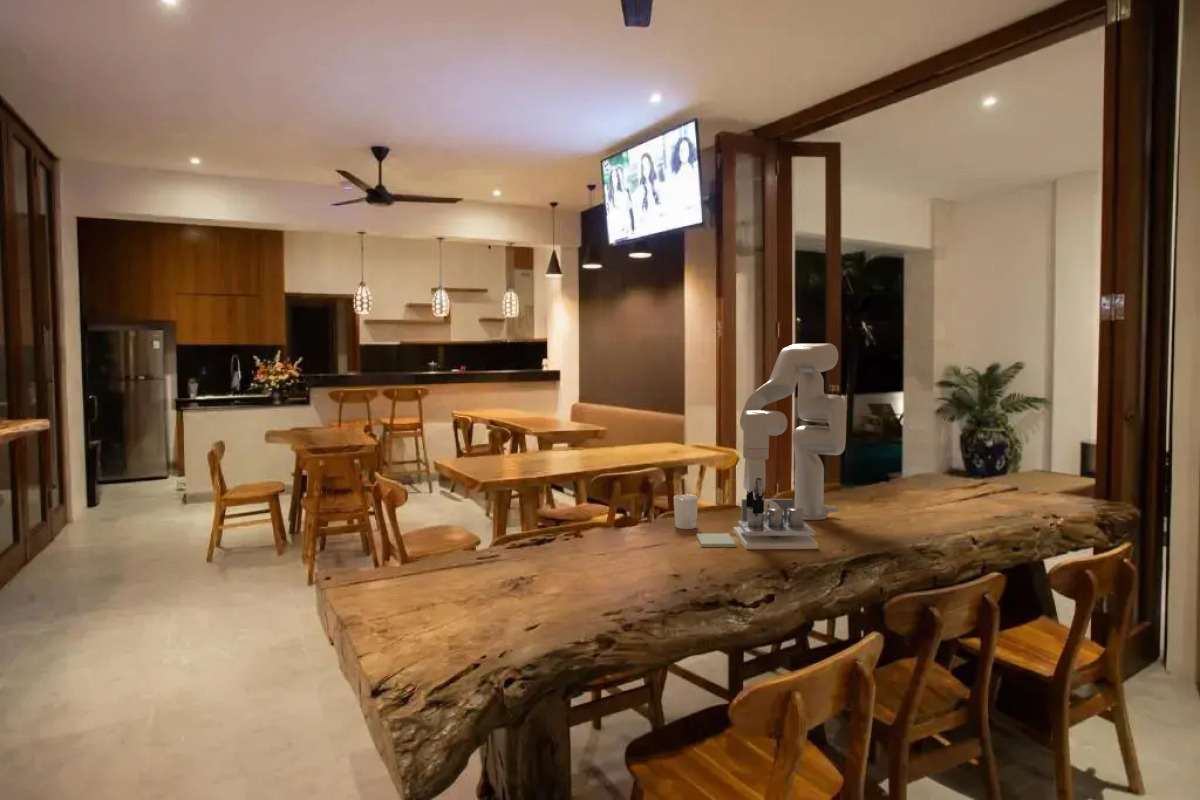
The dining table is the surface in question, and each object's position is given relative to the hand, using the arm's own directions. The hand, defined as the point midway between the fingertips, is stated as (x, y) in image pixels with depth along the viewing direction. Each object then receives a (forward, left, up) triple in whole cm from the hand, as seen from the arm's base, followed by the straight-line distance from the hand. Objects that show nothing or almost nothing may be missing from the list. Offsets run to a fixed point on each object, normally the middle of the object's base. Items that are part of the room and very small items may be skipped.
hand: (754, 510), depth 226 cm
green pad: (+12, 0, -10) cm, 15 cm away
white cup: (+19, -19, -10) cm, 29 cm away
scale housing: (-6, -2, -10) cm, 12 cm away
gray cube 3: (0, 0, -5) cm, 5 cm away
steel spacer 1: (-6, 0, -5) cm, 8 cm away
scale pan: (-6, 0, -6) cm, 9 cm away
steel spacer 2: (-12, 0, -5) cm, 13 cm away
